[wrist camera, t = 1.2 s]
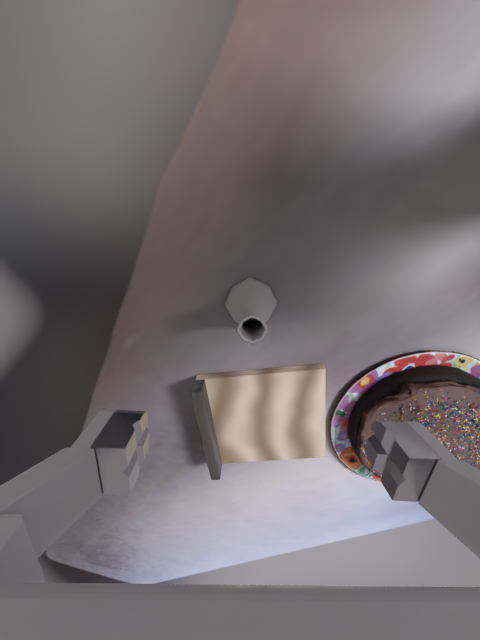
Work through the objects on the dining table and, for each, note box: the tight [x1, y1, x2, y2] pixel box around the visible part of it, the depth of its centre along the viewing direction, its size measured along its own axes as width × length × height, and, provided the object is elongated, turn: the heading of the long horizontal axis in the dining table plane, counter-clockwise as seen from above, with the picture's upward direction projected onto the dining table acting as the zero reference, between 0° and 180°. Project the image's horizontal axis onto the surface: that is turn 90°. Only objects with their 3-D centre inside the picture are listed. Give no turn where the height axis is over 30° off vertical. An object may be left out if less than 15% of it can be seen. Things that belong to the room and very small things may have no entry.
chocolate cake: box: [330, 351, 480, 482], centre depth 38 cm, size 28×28×7 cm
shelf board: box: [191, 364, 325, 480], centre depth 39 cm, size 20×18×4 cm
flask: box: [224, 277, 278, 344], centre depth 30 cm, size 7×7×10 cm
